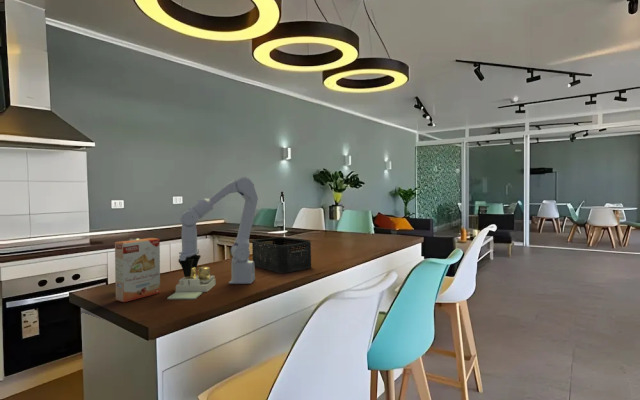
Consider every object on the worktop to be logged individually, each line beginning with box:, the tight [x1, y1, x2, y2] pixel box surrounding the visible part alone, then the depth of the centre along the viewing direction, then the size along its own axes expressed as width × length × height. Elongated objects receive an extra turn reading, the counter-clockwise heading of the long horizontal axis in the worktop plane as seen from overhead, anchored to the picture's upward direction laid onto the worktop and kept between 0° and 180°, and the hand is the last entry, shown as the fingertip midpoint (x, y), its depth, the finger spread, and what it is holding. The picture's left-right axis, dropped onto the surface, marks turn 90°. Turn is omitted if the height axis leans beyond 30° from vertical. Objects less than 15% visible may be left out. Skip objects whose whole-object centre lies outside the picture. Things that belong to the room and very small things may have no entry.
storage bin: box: [251, 236, 312, 274], centre depth 177 cm, size 29×19×13 cm
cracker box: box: [114, 237, 161, 303], centre depth 128 cm, size 14×6×21 cm, turn 148°
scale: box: [175, 278, 217, 293], centre depth 139 cm, size 12×10×5 cm
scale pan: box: [178, 275, 216, 283], centre depth 140 cm, size 12×8×1 cm, turn 88°
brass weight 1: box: [183, 267, 197, 279], centre depth 140 cm, size 4×4×4 cm
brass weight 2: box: [197, 266, 211, 279], centre depth 140 cm, size 4×4×4 cm
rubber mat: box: [166, 291, 203, 300], centre depth 129 cm, size 10×7×1 cm
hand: (190, 275), depth 140 cm, fingers closed on brass weight 1, 4 cm apart
